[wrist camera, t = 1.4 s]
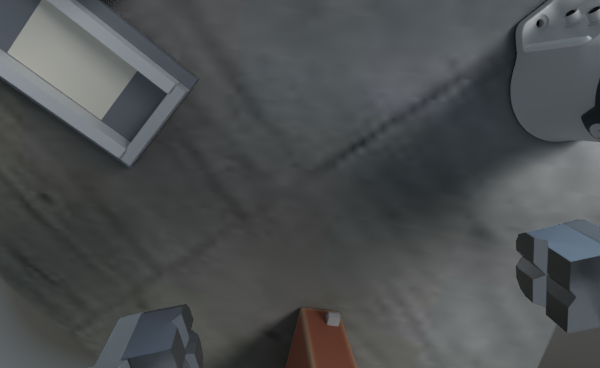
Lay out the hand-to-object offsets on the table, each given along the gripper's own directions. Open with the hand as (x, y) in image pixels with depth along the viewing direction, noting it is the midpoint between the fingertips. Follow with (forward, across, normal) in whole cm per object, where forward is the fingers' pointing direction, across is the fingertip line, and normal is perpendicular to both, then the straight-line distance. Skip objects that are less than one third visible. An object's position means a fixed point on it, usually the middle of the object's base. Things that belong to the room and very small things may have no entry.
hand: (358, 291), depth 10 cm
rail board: (+36, +18, -8) cm, 41 cm away
